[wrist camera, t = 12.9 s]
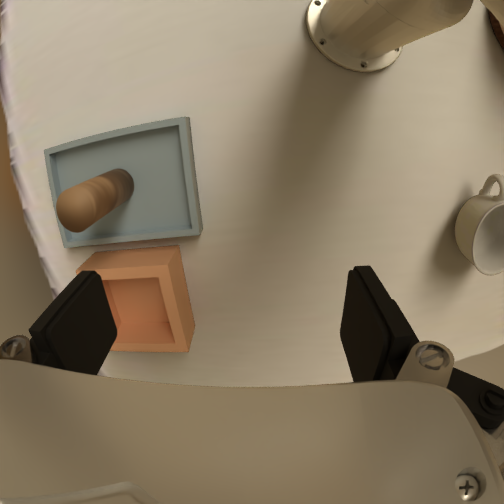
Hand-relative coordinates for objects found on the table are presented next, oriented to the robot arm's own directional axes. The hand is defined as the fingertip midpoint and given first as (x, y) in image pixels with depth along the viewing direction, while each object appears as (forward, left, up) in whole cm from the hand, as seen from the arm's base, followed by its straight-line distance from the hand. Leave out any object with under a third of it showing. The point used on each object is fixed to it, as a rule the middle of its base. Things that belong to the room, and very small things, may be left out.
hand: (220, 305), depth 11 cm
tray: (-1, -16, -28) cm, 32 cm away
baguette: (-1, -16, -27) cm, 31 cm away
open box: (+14, -16, -28) cm, 35 cm away
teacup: (+6, +34, -28) cm, 45 cm away
